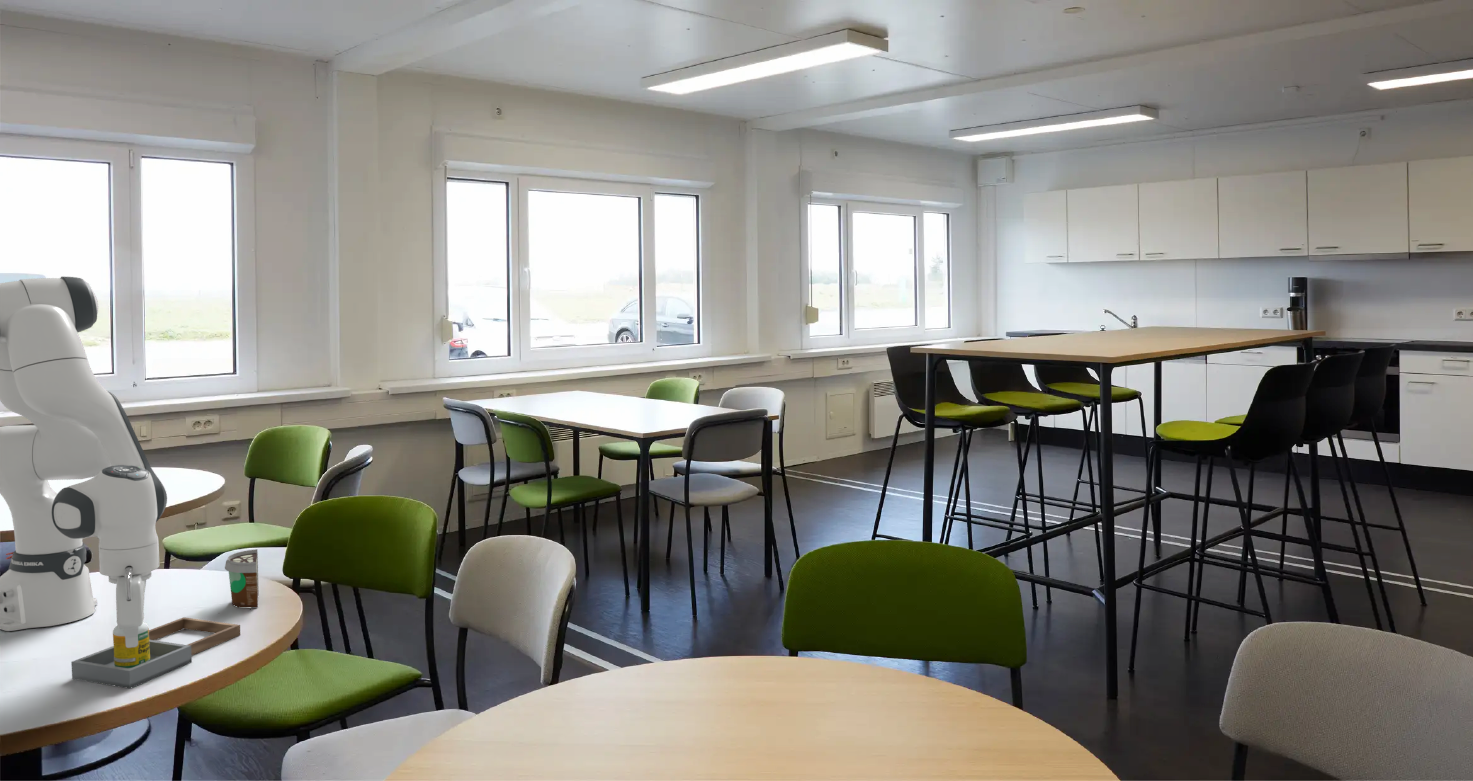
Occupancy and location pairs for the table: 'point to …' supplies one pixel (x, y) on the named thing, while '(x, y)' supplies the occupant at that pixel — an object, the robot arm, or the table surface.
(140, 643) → the supplement bottle
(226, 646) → the table surface
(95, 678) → the tray
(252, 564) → the food container
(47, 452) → the robot arm
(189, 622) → the wooden square frame
